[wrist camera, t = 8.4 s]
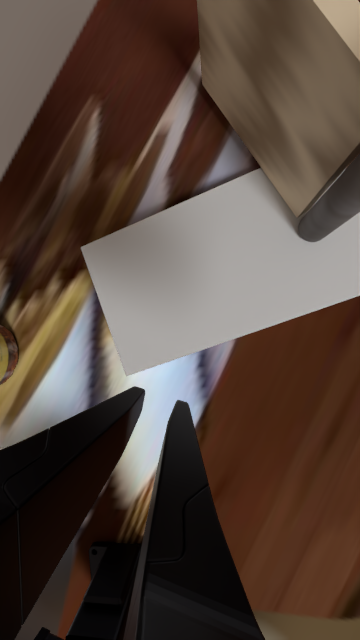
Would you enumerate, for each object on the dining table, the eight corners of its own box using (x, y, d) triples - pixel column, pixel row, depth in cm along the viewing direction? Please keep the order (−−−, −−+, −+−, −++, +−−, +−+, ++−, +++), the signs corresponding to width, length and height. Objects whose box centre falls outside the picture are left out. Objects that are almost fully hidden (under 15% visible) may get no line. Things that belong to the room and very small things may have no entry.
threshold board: (326, 145, 18) (332, 135, 17) (381, 286, 18) (390, 284, 17) (86, 250, 21) (80, 247, 20) (130, 373, 21) (126, 376, 20)
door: (354, 217, 17) (530, 94, 7) (308, 247, 17) (418, 168, 8) (237, 56, 18) (261, -237, 8) (196, 88, 18) (175, -153, 9)
